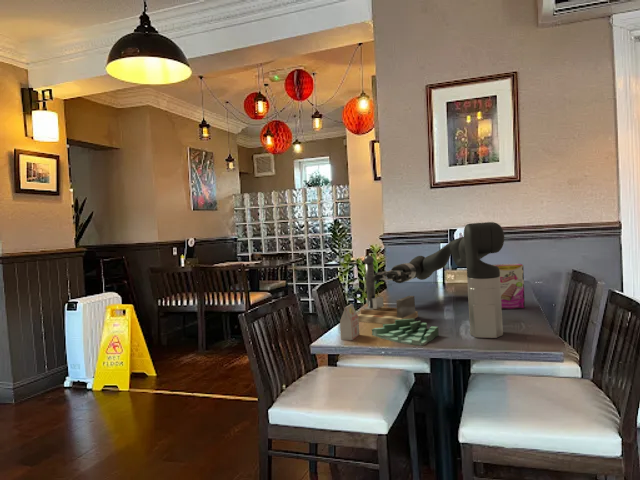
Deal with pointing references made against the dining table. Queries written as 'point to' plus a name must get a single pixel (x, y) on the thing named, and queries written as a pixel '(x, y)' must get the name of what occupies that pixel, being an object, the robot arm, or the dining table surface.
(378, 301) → the handle
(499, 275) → the robot arm
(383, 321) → the press bench
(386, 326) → the money
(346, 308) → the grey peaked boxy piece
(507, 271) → the candy bar box
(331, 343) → the dining table surface
